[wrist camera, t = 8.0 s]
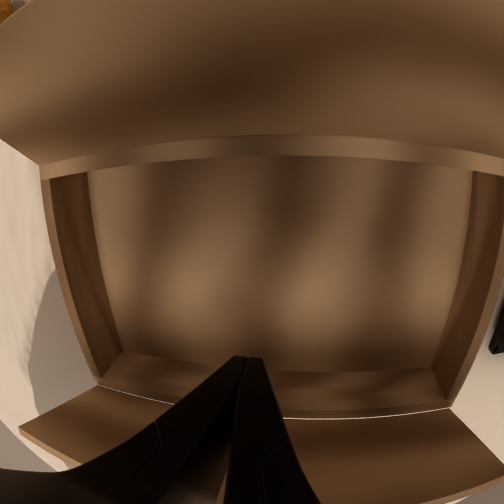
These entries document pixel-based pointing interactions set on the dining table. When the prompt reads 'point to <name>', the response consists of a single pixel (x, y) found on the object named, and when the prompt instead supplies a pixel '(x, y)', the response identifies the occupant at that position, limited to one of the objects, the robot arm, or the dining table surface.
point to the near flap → (250, 72)
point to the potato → (5, 10)
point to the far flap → (305, 449)
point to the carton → (282, 266)
